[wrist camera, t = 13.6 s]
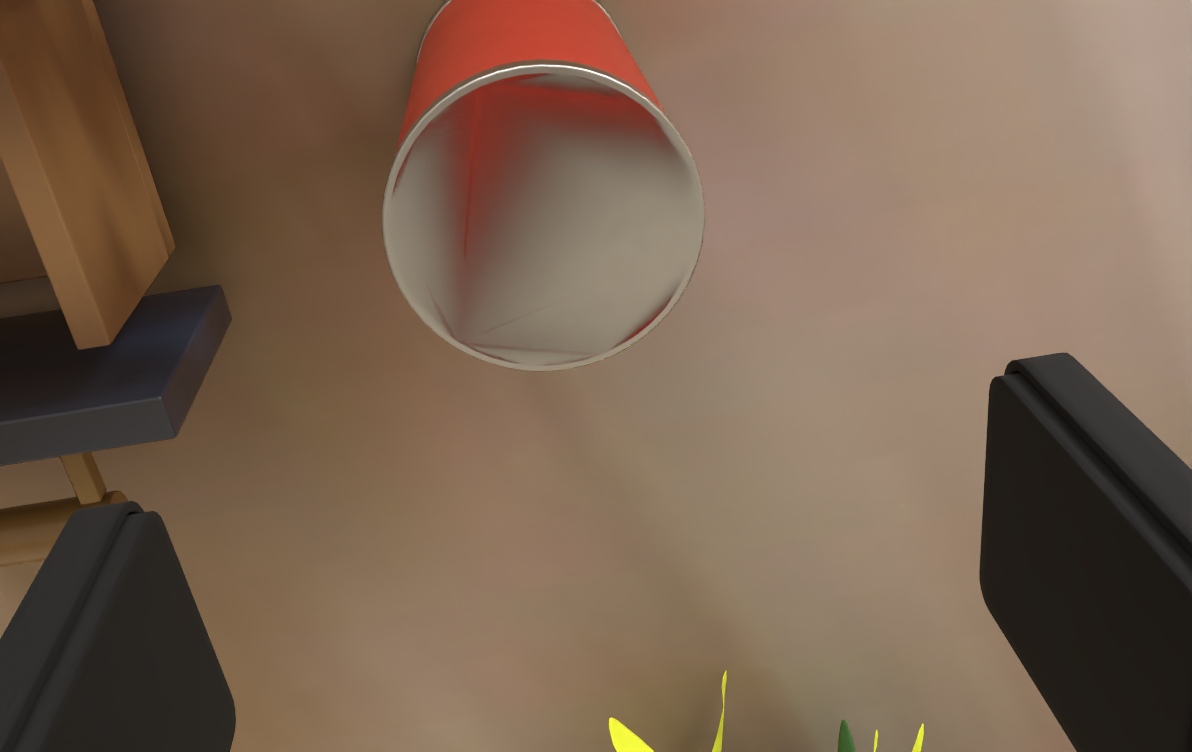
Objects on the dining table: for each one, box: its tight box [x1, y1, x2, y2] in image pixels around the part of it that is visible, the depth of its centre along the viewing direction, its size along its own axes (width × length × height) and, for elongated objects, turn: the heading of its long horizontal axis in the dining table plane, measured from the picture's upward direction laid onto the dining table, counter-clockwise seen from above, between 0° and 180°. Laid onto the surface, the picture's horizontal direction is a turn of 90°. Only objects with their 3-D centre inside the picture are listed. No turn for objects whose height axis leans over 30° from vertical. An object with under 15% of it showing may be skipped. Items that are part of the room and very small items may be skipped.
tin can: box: [382, 0, 705, 371], centre depth 26 cm, size 6×6×12 cm
